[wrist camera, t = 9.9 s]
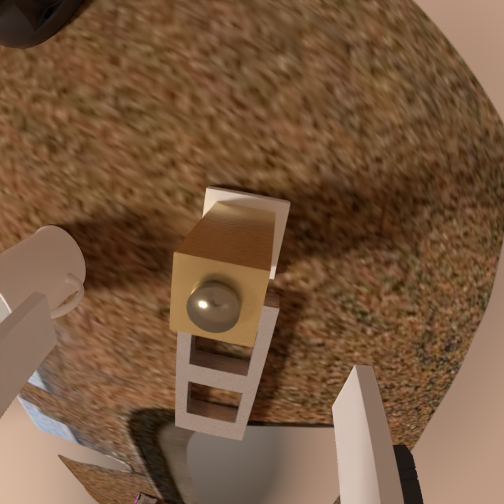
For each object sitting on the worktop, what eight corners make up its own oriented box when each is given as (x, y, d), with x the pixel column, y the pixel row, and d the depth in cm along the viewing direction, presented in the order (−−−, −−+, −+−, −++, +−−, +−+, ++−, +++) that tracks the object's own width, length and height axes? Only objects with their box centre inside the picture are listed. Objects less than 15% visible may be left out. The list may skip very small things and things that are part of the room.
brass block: (216, 201, 26) (168, 258, 15) (275, 212, 26) (269, 278, 15) (209, 255, 28) (165, 336, 17) (264, 266, 28) (252, 356, 17)
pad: (209, 185, 26) (206, 188, 26) (290, 201, 26) (290, 203, 25) (199, 259, 29) (197, 263, 28) (273, 274, 29) (273, 279, 28)
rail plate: (187, 275, 30) (180, 288, 28) (279, 294, 30) (279, 308, 28) (180, 412, 39) (175, 425, 36) (243, 426, 38) (241, 440, 36)
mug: (110, 239, 29) (37, 298, 18) (112, 308, 33) (57, 378, 22) (30, 218, 29) (-44, 259, 18) (36, 282, 33) (-23, 333, 22)
